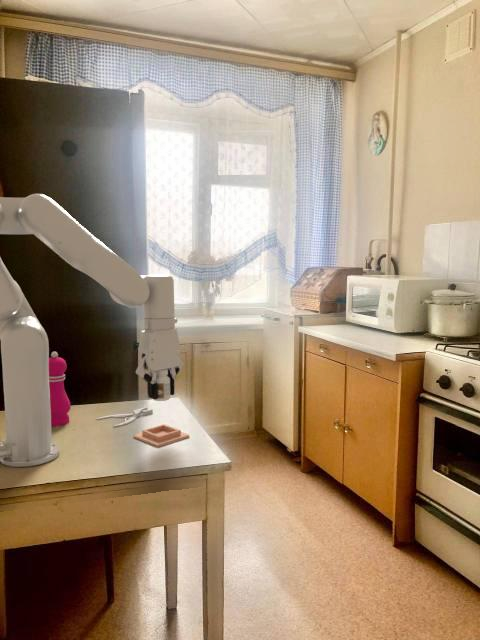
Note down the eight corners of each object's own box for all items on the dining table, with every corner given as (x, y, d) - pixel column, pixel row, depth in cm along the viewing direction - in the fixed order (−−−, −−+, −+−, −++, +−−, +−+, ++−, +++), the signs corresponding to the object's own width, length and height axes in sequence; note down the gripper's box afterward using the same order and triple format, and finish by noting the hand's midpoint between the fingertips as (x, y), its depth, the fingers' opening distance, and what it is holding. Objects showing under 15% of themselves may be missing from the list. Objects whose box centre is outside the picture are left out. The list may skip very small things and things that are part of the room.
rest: (157, 447, 124) (157, 440, 124) (133, 437, 131) (133, 430, 131) (189, 437, 132) (189, 430, 131) (165, 428, 138) (165, 421, 138)
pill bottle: (149, 400, 130) (148, 369, 129) (160, 395, 133) (159, 366, 132) (162, 402, 127) (161, 371, 126) (174, 398, 131) (173, 368, 130)
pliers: (95, 415, 146) (139, 404, 156) (95, 420, 146) (140, 409, 156) (114, 423, 139) (159, 411, 149) (114, 428, 139) (159, 416, 149)
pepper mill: (37, 425, 141) (34, 353, 138) (55, 417, 147) (52, 348, 145) (60, 428, 138) (56, 354, 136) (76, 420, 145) (73, 350, 143)
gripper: (176, 320, 137) (178, 387, 139) (121, 326, 125) (124, 400, 127) (195, 322, 131) (196, 392, 134) (139, 329, 119) (142, 406, 122)
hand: (161, 395), depth 130 cm, fingers closed on pill bottle, 4 cm apart
